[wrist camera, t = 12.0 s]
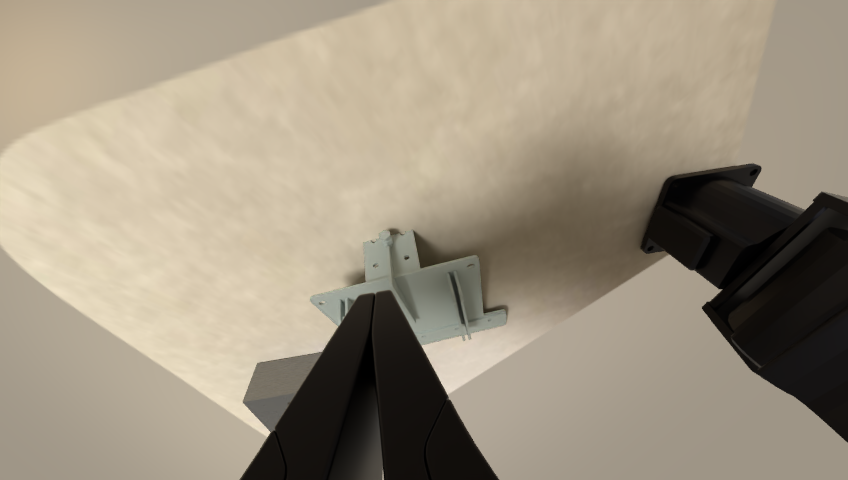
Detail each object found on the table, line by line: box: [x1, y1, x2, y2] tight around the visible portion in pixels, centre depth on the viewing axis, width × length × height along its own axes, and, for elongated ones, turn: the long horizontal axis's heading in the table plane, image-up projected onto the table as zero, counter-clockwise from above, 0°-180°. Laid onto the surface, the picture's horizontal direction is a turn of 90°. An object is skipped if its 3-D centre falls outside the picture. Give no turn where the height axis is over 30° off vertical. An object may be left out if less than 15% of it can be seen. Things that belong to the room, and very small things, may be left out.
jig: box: [243, 353, 321, 432], centre depth 28 cm, size 10×8×4 cm
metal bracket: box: [310, 230, 507, 345], centre depth 24 cm, size 14×6×15 cm
